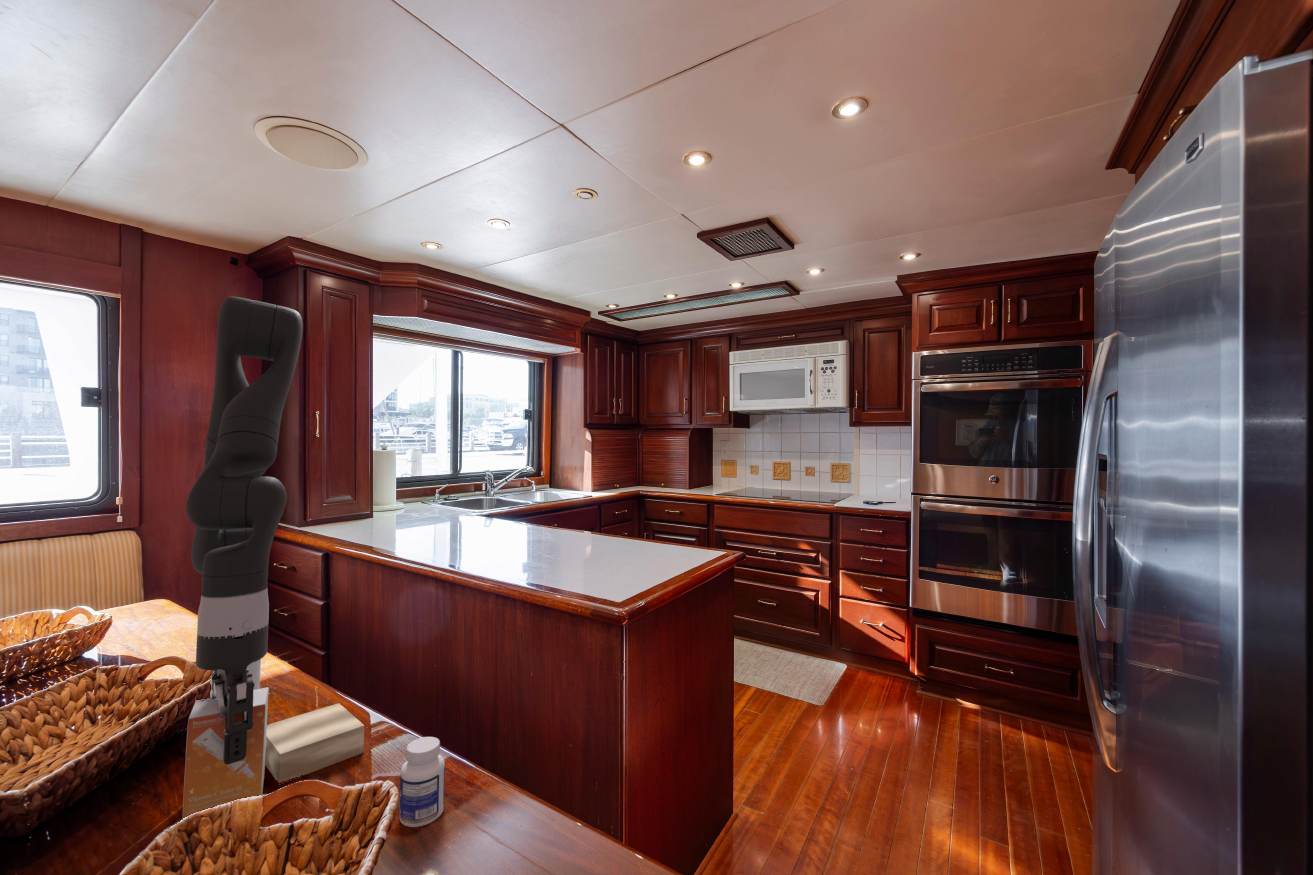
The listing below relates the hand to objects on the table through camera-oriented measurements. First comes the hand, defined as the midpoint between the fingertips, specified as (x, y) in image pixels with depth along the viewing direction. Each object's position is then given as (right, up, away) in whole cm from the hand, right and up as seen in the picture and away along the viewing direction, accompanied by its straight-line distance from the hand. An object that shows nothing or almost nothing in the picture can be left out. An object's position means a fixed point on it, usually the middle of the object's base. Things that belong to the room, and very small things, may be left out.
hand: (228, 748), depth 71 cm
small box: (0, -7, 0) cm, 7 cm away
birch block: (+4, -8, +11) cm, 14 cm away
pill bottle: (+27, -7, -2) cm, 28 cm away
